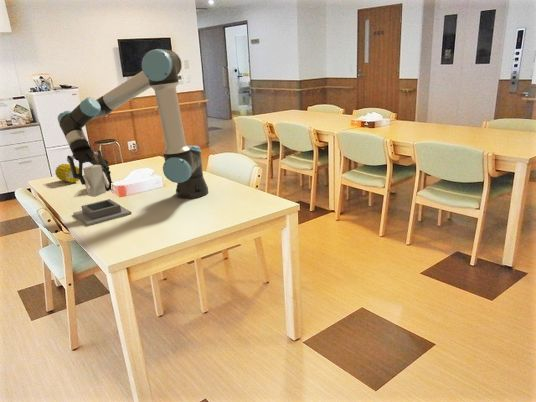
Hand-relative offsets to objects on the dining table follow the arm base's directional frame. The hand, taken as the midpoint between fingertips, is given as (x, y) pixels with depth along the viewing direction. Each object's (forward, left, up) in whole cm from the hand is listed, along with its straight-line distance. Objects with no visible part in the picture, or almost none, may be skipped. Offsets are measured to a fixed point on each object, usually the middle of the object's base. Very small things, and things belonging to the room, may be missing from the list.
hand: (98, 187), depth 169 cm
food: (+51, -49, -13) cm, 72 cm away
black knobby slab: (+23, -40, -13) cm, 48 cm away
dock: (+2, -2, -12) cm, 13 cm away
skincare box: (+3, -2, -4) cm, 5 cm away
